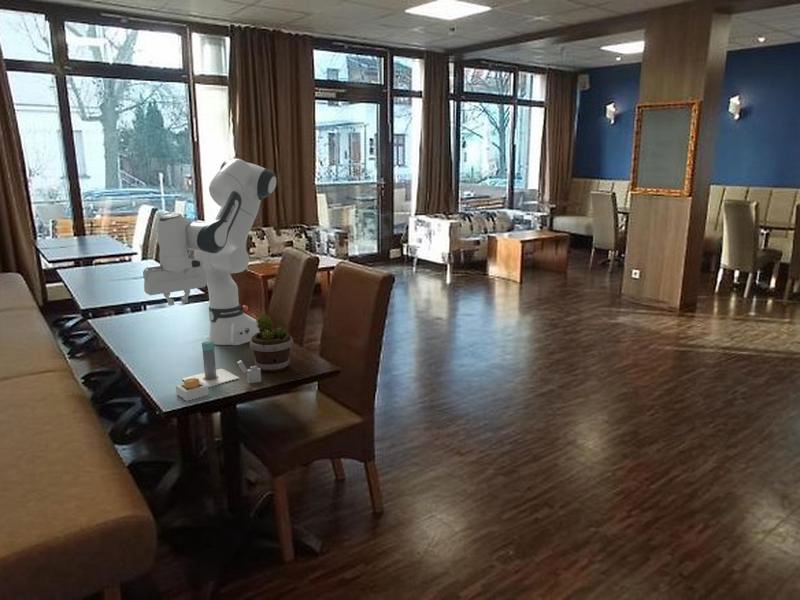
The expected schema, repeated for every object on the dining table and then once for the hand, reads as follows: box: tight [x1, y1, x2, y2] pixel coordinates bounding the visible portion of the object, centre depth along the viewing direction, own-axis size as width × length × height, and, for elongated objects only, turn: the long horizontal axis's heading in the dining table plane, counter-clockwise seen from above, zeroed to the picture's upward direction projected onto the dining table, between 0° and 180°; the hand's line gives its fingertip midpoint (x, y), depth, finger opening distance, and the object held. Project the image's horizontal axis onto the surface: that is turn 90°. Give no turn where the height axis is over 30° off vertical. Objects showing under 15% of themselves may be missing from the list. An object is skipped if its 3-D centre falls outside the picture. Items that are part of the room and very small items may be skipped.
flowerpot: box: [249, 312, 294, 373], centre depth 201 cm, size 14×15×20 cm
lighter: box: [236, 359, 262, 384], centre depth 188 cm, size 7×2×8 cm, turn 120°
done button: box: [183, 378, 200, 390], centre depth 178 cm, size 4×4×2 cm
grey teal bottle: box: [201, 340, 217, 380], centre depth 190 cm, size 4×4×12 cm
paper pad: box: [181, 367, 240, 388], centre depth 191 cm, size 14×12×1 cm
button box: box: [175, 381, 209, 402], centre depth 179 cm, size 7×7×3 cm
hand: (178, 304), depth 196 cm, fingers open, 3 cm apart
